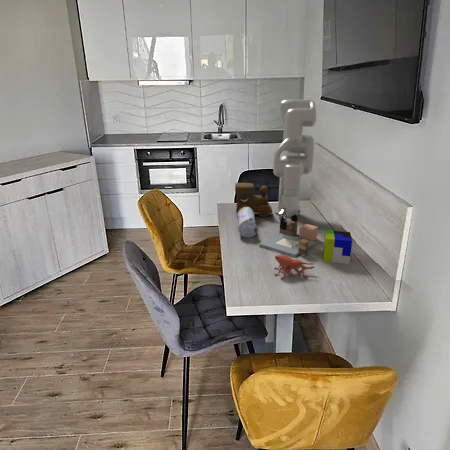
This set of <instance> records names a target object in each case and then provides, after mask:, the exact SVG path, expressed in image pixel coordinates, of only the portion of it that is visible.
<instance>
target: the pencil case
mask: <svg viewBox="0 0 450 450" xmlns="http://www.w3.org/2000/svg"><path fill="white" fill-rule="evenodd" d="M237 221H238V227H237V228H238V229H237V231H238V233H239V234H240V236H241V237H243V238H253V237H255V236H256V235H257V232H258V226H257V224H256V220H255V213H254V212H253V210H252V209H251V208H249V207H244V208H241V209H240V210H239V212H238V213H237Z"/></svg>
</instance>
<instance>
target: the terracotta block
mask: <svg viewBox="0 0 450 450" xmlns="http://www.w3.org/2000/svg"><path fill="white" fill-rule="evenodd" d="M318 229H319V227H318V226H316V225H312V224H309V223H306V224H305V223H304V224H303V225H301V226H300V227H299V234H298V237H299V238H302V239H306V240H310V241H313V242H315V241H316V240H317V239H318V238H317V237H318V231H319V230H318Z"/></svg>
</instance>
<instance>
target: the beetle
mask: <svg viewBox="0 0 450 450" xmlns="http://www.w3.org/2000/svg"><path fill="white" fill-rule="evenodd" d="M292 242H293V241H292ZM292 247H293V243H292ZM274 259H275V260H276V261H277V263H278V264H279V265H278V267H277V266H275V267H274V270H277V271H278V272H277V273H274V277H276V276H279V275H280V273H281V272H284V273H283V277H280V280H284V279H286V274H287V275H288V274H290V272H291V271H292V270H294V271H295V272H296V273H297V274H298V275H300V274H301V275H302V277H303V279H304V278H305V280H306V279H307V280H308V277H305V274H304V270H311V269H314V268H316V267H315V266H306V265H313V263H312V262H311V263H309V262H304V261H301V260H299V259H293V258H291V256H289V255H286V254H282V255H281V254H280V255H275V256H274ZM300 268H301V269H300ZM299 269H300V270H299ZM302 269H304V270H302Z"/></svg>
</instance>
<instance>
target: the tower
mask: <svg viewBox="0 0 450 450" xmlns="http://www.w3.org/2000/svg"><path fill="white" fill-rule="evenodd" d="M308 248H309V241H308V240H304V239H302V240H300V241H299V249H298V252H299V254H300V255H299V256H302V255H303V257H305V255H306V256H307V255H308V254H309V249H310V248H309V249H308Z"/></svg>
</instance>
